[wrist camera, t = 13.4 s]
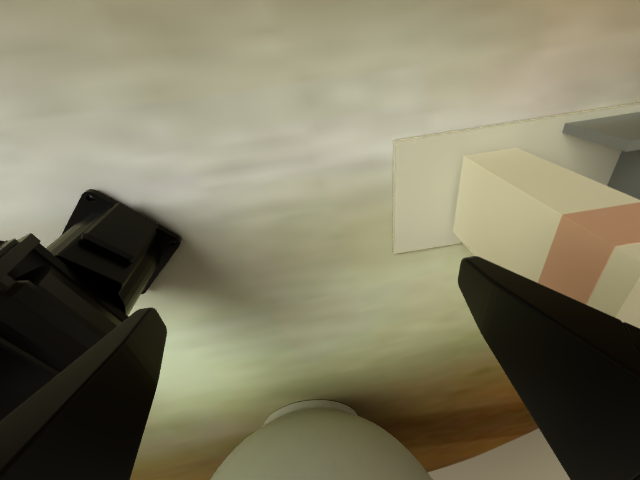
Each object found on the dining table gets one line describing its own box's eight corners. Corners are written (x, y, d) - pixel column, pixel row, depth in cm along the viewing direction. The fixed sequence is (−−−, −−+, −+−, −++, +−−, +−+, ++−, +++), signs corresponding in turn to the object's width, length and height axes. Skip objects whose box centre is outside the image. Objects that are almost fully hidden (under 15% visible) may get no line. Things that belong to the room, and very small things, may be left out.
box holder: (392, 251, 25) (413, 291, 20) (393, 140, 20) (421, 164, 16) (594, 219, 25) (655, 252, 21) (644, 101, 20) (738, 115, 16)
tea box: (452, 232, 23) (580, 373, 13) (462, 155, 20) (646, 264, 10) (498, 225, 23) (662, 360, 13) (517, 146, 20) (755, 246, 10)
